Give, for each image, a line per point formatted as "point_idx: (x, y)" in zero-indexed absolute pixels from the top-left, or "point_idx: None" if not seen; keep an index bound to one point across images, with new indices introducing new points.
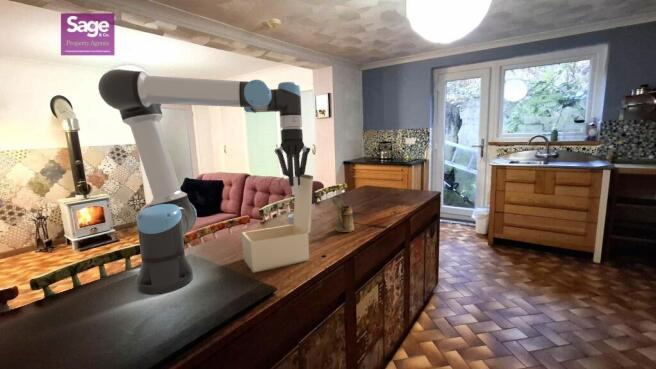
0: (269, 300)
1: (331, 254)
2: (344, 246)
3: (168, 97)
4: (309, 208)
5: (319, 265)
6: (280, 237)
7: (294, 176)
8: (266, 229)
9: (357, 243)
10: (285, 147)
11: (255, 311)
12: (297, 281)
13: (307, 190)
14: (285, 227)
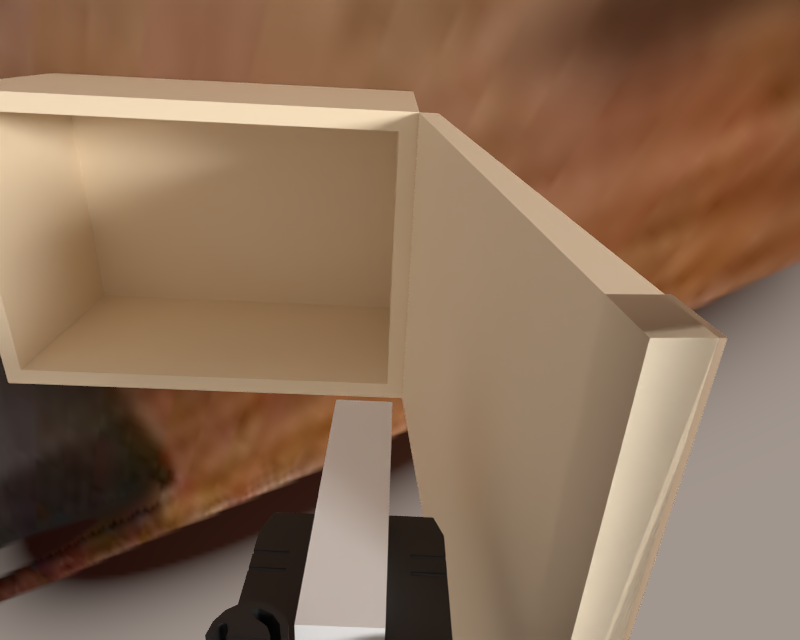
0: (133, 528)
1: None
2: (689, 242)
3: None
4: None
5: None
6: (206, 381)
7: (376, 631)
8: (152, 118)
9: (789, 242)
10: None
11: (82, 557)
12: (262, 467)
13: (458, 627)
14: (331, 126)
